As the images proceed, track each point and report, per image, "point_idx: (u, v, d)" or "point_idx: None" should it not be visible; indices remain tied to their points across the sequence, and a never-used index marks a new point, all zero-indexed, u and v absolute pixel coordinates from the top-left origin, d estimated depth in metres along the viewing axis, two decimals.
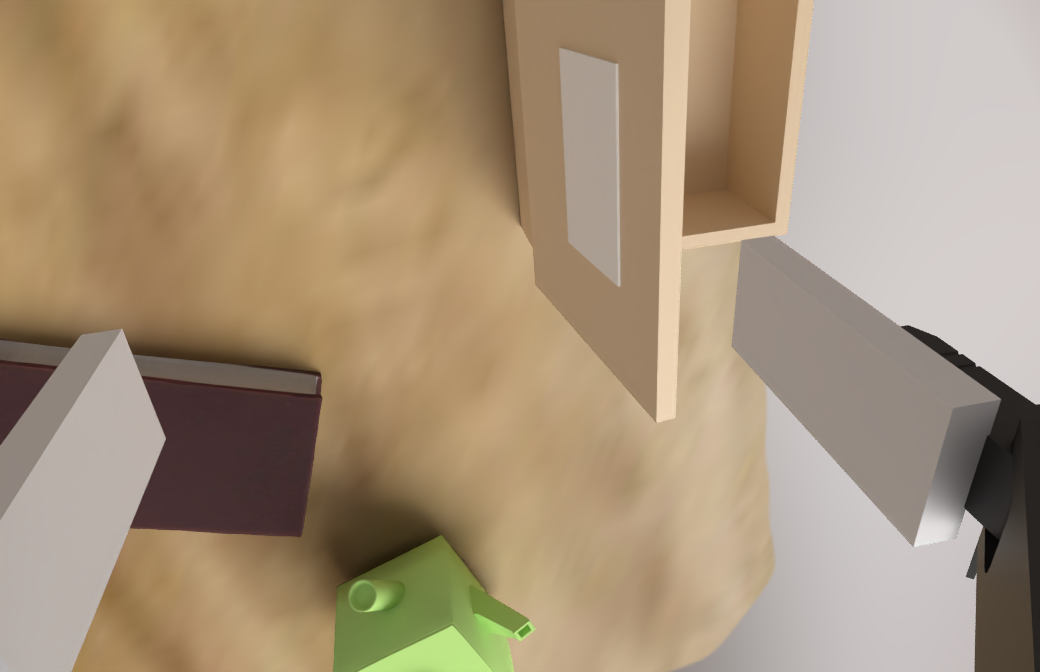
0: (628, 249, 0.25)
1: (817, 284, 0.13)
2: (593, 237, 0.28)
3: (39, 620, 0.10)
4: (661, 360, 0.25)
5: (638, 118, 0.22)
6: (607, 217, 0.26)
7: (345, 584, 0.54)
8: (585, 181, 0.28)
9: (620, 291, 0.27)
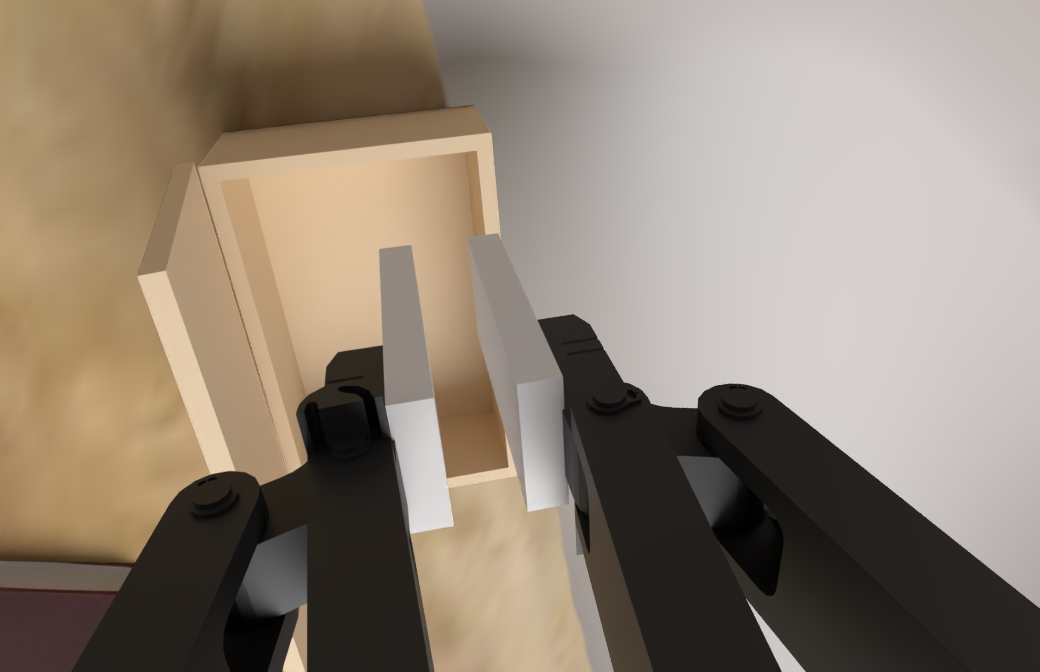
0: None
1: (497, 277, 0.15)
2: None
3: (441, 444, 0.12)
4: None
5: None
6: None
7: None
8: None
9: None
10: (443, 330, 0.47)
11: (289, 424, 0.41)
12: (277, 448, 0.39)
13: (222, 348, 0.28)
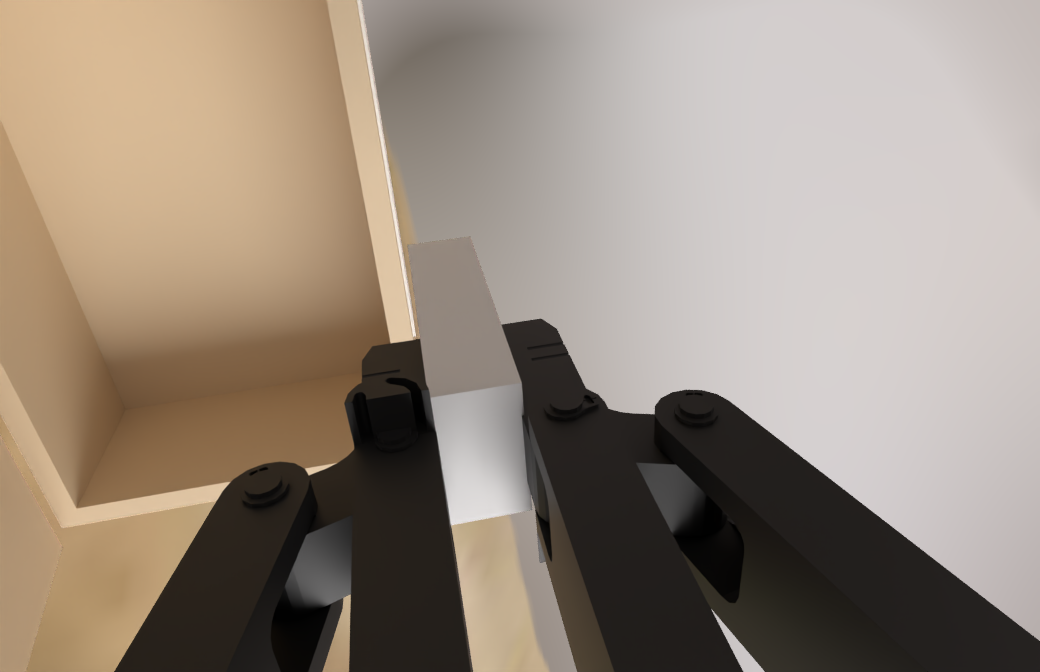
0: None
1: (465, 281, 0.15)
2: None
3: None
4: None
5: None
6: None
7: None
8: None
9: None
10: (310, 232, 0.29)
11: (7, 373, 0.23)
12: None
13: None
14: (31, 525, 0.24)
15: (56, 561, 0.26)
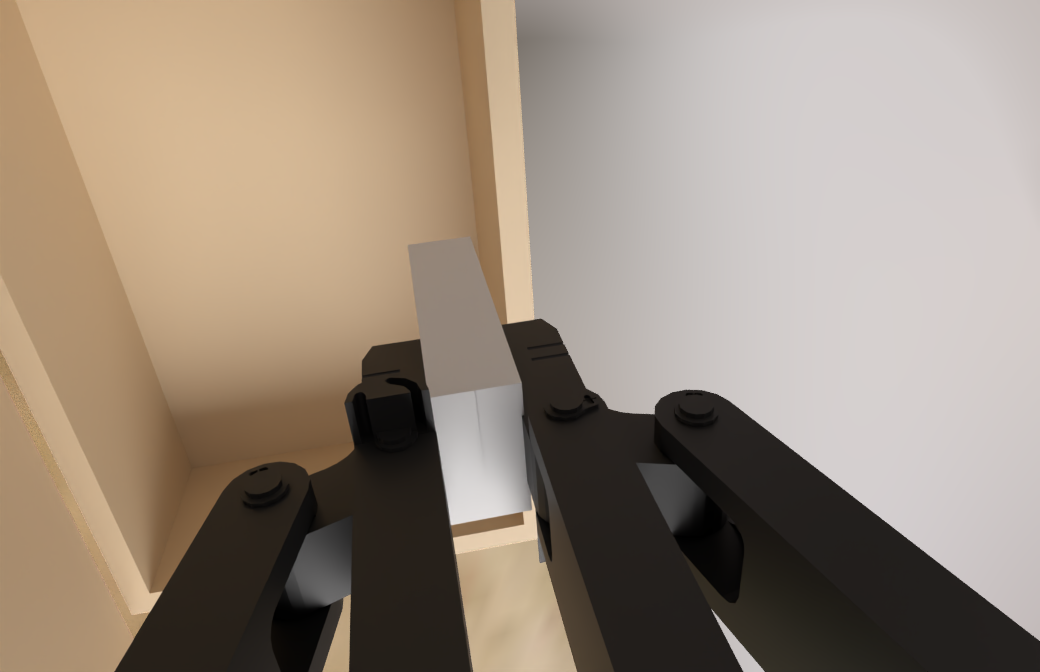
0: None
1: (465, 281, 0.15)
2: None
3: None
4: None
5: None
6: None
7: None
8: None
9: None
10: (407, 274, 0.26)
11: (82, 447, 0.20)
12: (39, 499, 0.19)
13: None
14: (104, 619, 0.21)
15: None
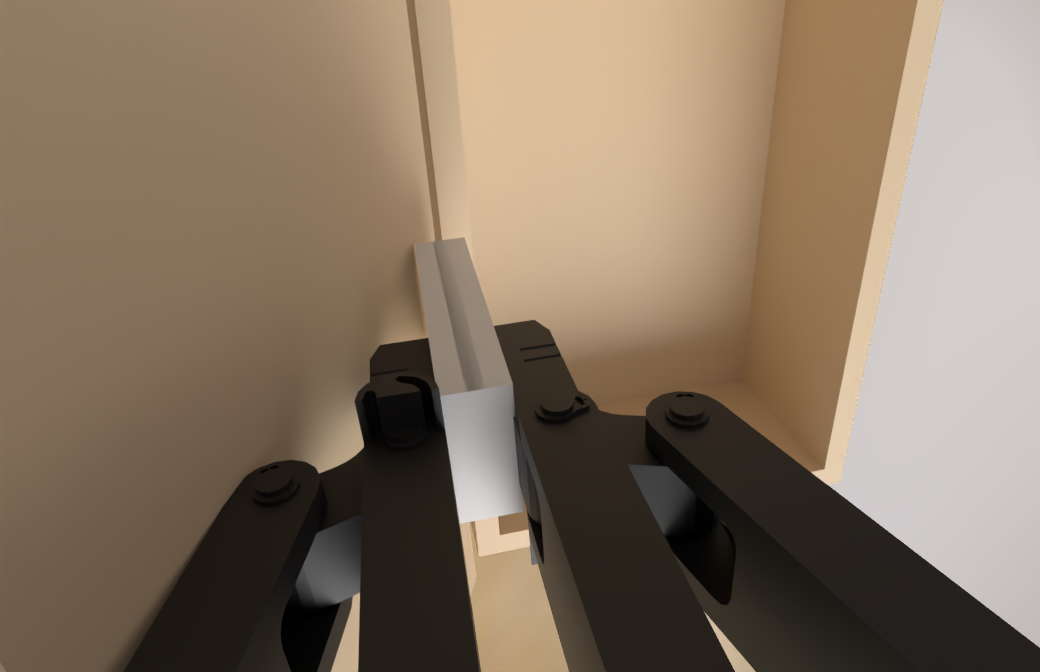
0: None
1: (458, 282, 0.15)
2: None
3: None
4: None
5: None
6: None
7: None
8: None
9: None
10: (695, 240, 0.28)
11: None
12: None
13: (219, 128, 0.09)
14: None
15: (470, 596, 0.24)
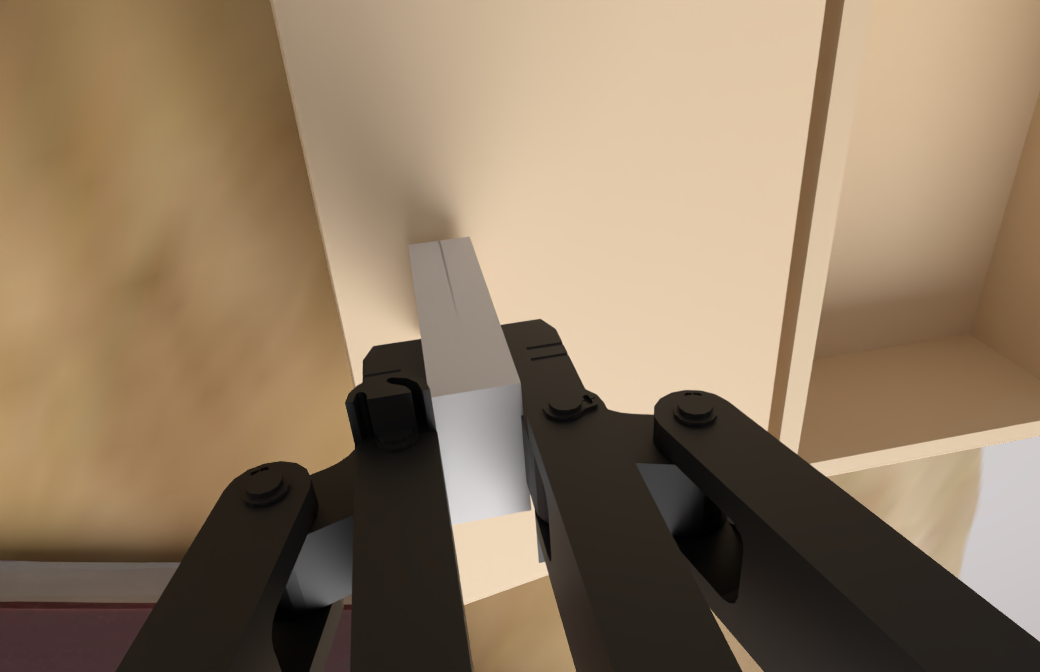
0: None
1: (464, 281, 0.15)
2: None
3: None
4: None
5: None
6: None
7: None
8: None
9: None
10: (953, 194, 0.29)
11: (816, 323, 0.23)
12: (749, 347, 0.23)
13: (528, 20, 0.16)
14: None
15: None
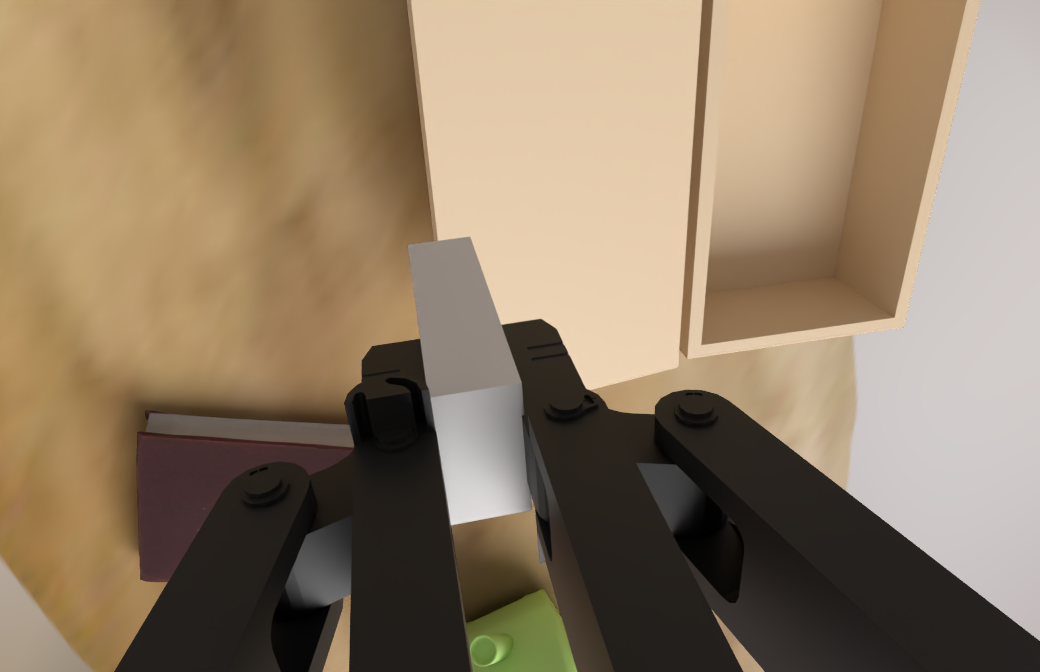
0: None
1: (465, 281, 0.15)
2: None
3: None
4: None
5: None
6: None
7: None
8: None
9: None
10: (812, 178, 0.45)
11: (708, 248, 0.38)
12: (666, 260, 0.38)
13: (537, 70, 0.31)
14: (663, 339, 0.40)
15: (665, 369, 0.41)
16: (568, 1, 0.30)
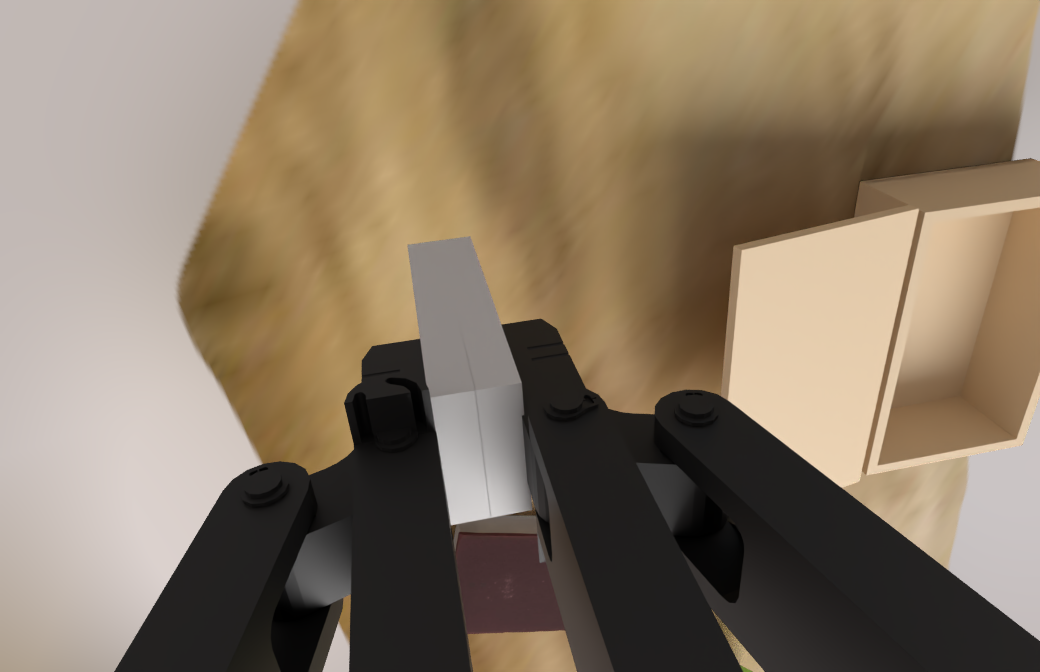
0: None
1: (465, 281, 0.15)
2: None
3: None
4: None
5: None
6: None
7: None
8: None
9: None
10: (950, 331, 0.59)
11: (890, 403, 0.53)
12: (862, 414, 0.53)
13: (803, 314, 0.46)
14: (853, 464, 0.55)
15: (851, 483, 0.56)
16: (828, 272, 0.45)
